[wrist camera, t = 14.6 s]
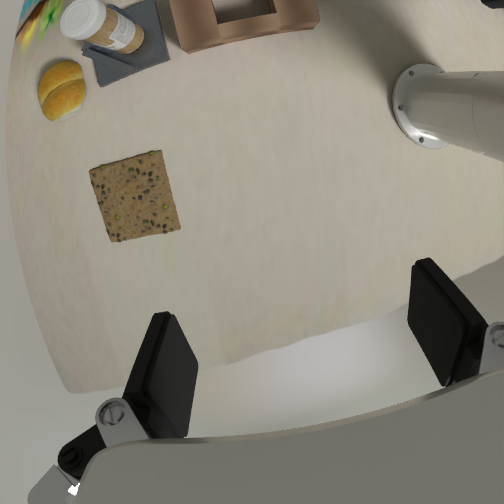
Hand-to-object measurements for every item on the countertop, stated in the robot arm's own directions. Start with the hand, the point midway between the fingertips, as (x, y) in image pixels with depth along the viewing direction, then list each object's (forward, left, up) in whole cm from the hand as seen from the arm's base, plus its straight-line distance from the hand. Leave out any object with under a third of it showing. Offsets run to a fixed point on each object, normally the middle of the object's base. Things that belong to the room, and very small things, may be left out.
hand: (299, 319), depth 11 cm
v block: (+13, -22, -30) cm, 40 cm away
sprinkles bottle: (+13, -22, -30) cm, 39 cm away
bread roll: (+25, -19, -31) cm, 44 cm away
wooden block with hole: (-2, -22, -30) cm, 37 cm away
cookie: (+19, 0, -31) cm, 36 cm away
